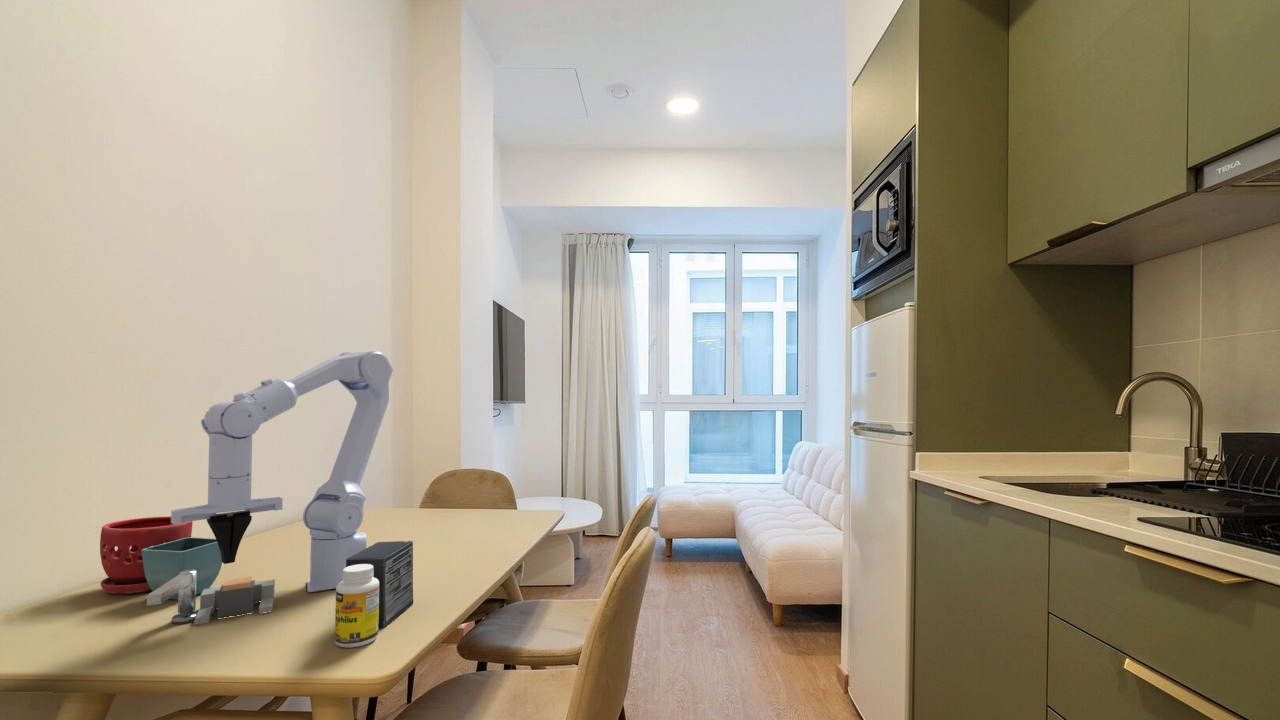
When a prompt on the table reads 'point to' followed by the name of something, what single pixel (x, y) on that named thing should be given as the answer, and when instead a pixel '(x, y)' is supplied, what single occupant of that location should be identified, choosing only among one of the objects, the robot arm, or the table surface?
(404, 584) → the small box
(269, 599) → the socket
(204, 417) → the robot arm
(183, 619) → the door handle base
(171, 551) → the flower pot
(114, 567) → the plant pot
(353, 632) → the supplement bottle
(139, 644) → the table surface
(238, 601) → the orange and grey block
